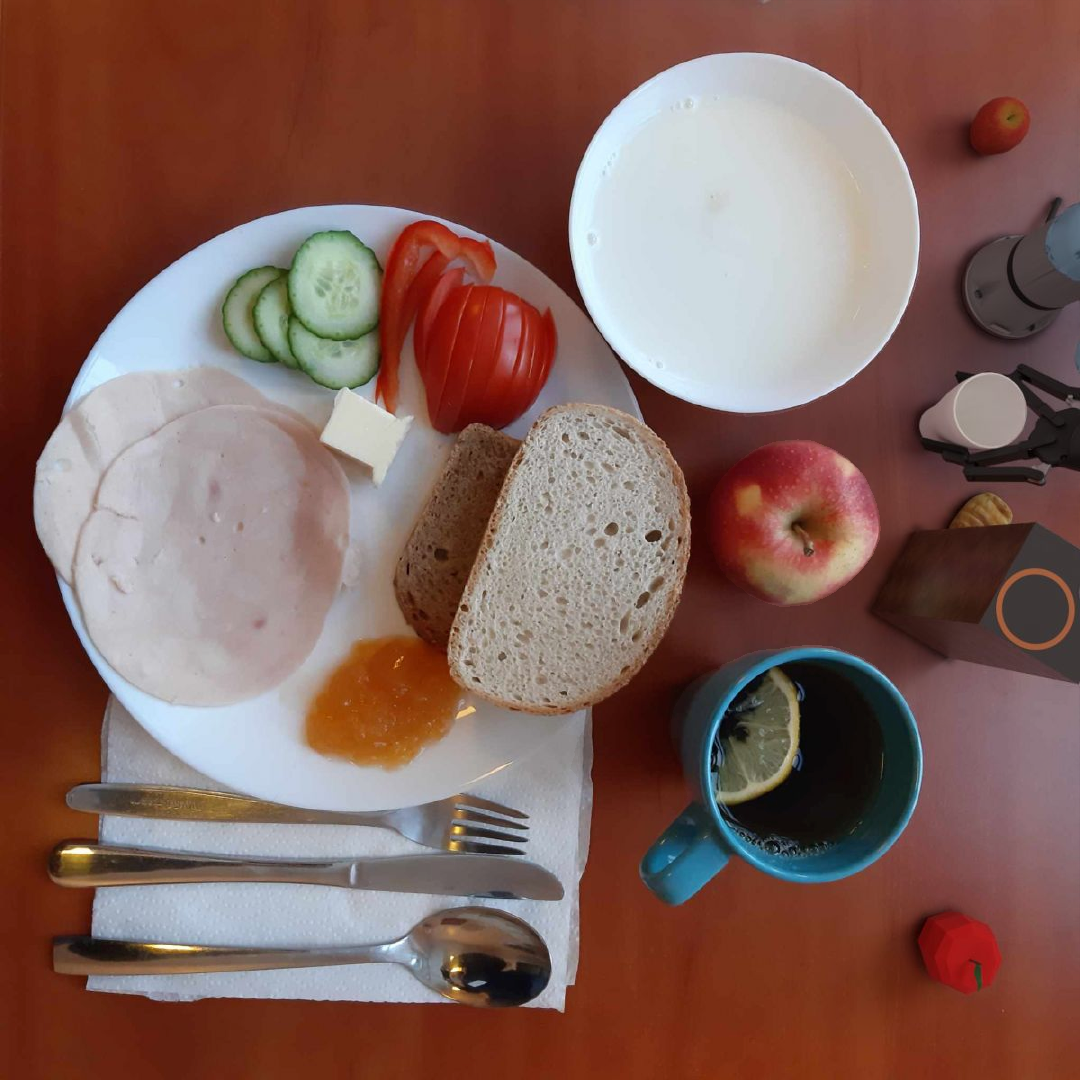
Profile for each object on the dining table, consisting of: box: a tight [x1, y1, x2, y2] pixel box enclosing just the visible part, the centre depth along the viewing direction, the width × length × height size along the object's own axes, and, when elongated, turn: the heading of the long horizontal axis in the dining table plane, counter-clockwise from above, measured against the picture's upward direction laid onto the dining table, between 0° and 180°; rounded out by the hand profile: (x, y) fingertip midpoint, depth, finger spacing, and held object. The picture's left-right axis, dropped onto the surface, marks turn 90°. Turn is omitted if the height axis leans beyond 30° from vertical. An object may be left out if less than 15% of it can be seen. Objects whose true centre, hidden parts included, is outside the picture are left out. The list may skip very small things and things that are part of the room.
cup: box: [918, 371, 1028, 451], centre depth 123 cm, size 10×10×14 cm
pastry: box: [948, 491, 1013, 529], centre depth 127 cm, size 9×7×4 cm
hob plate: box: [979, 521, 1080, 686], centre depth 101 cm, size 14×14×1 cm
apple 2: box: [969, 95, 1031, 156], centre depth 127 cm, size 8×8×8 cm
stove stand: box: [871, 521, 1077, 685], centre depth 115 cm, size 14×14×28 cm
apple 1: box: [917, 909, 1003, 995], centre depth 122 cm, size 11×11×10 cm
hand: (940, 410), depth 124 cm, fingers closed on cup, 10 cm apart
